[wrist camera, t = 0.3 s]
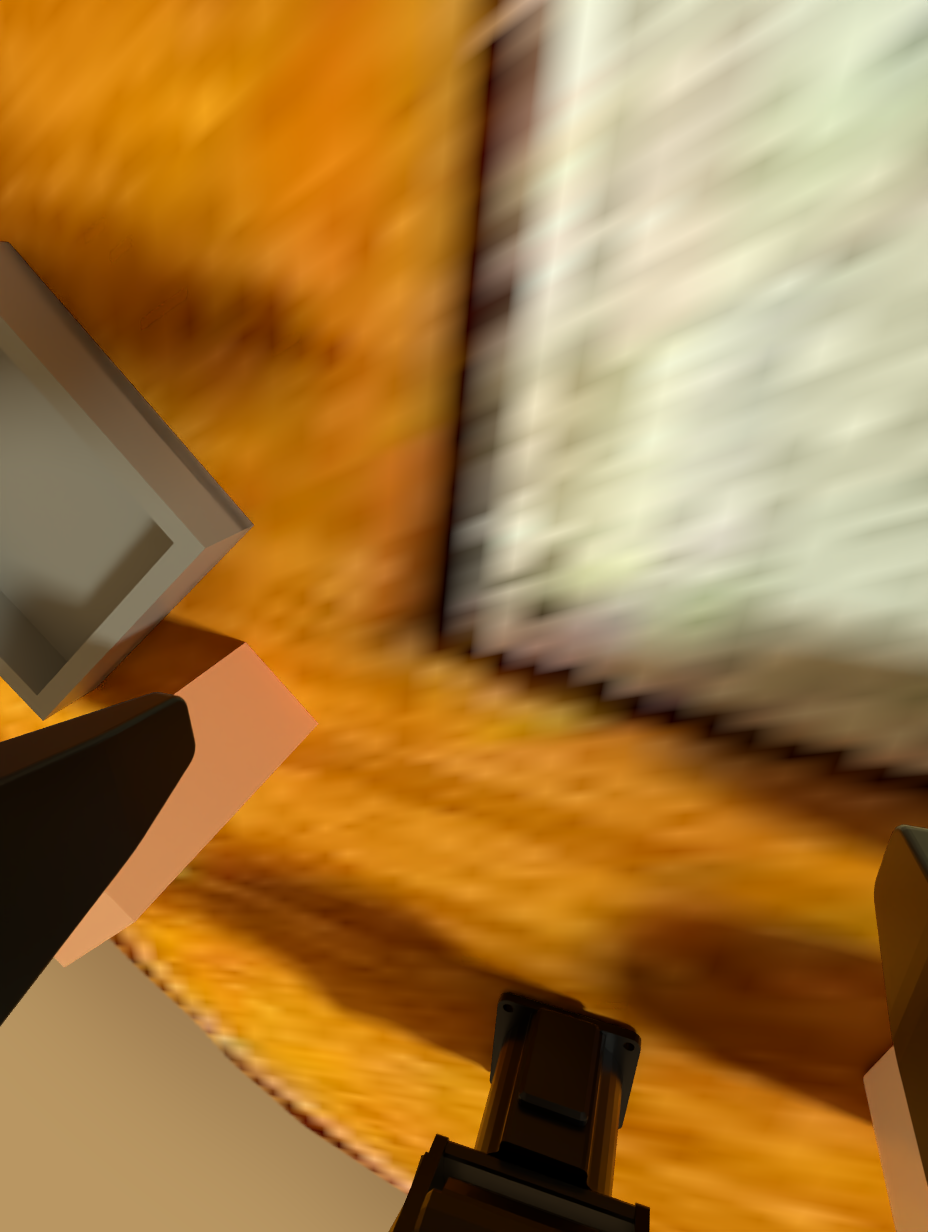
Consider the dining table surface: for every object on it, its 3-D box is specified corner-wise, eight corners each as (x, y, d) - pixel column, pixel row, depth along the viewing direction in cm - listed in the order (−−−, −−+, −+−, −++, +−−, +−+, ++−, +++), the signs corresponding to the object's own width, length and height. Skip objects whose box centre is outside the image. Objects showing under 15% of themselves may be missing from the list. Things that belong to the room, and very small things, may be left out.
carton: (318, 723, 30) (134, 922, 20) (257, 768, 32) (64, 967, 22) (245, 642, 29) (20, 805, 19) (188, 694, 31) (-40, 863, 22)
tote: (253, 525, 27) (205, 548, 24) (95, 688, 33) (43, 720, 30) (8, 242, 25) (-73, 233, 22) (-109, 469, 31) (-183, 483, 29)
